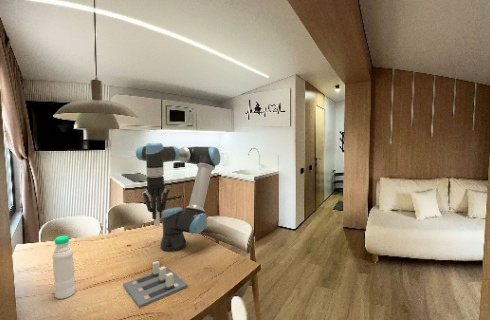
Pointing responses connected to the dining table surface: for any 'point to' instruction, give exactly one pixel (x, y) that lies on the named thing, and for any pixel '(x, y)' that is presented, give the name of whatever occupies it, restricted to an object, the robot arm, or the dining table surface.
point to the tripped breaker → (169, 281)
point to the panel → (152, 288)
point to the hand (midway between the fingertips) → (157, 225)
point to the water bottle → (63, 268)
